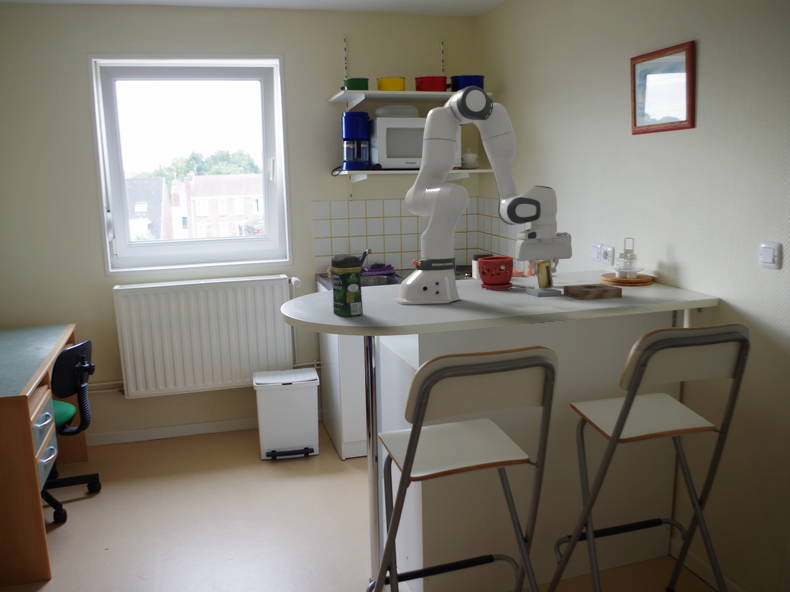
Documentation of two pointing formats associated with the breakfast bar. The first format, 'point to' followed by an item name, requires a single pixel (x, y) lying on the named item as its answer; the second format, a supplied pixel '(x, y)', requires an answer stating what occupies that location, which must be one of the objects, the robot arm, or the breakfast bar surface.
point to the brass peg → (544, 274)
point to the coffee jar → (347, 286)
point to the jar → (475, 263)
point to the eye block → (592, 291)
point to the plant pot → (496, 272)
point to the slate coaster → (544, 292)
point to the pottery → (521, 273)
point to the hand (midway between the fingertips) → (543, 272)
